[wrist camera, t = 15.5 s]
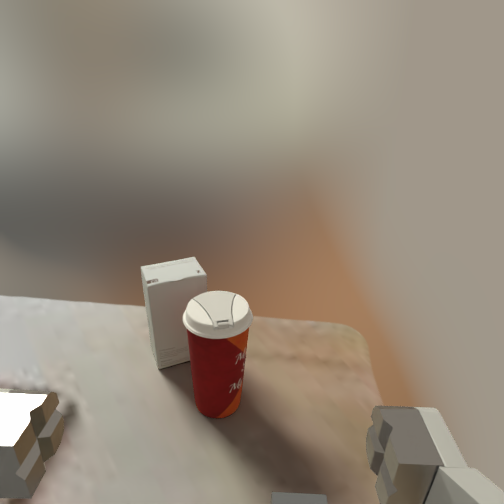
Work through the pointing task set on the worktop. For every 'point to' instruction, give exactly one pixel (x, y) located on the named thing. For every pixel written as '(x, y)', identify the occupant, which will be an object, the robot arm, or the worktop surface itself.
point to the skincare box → (171, 306)
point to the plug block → (297, 498)
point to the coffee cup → (217, 350)
